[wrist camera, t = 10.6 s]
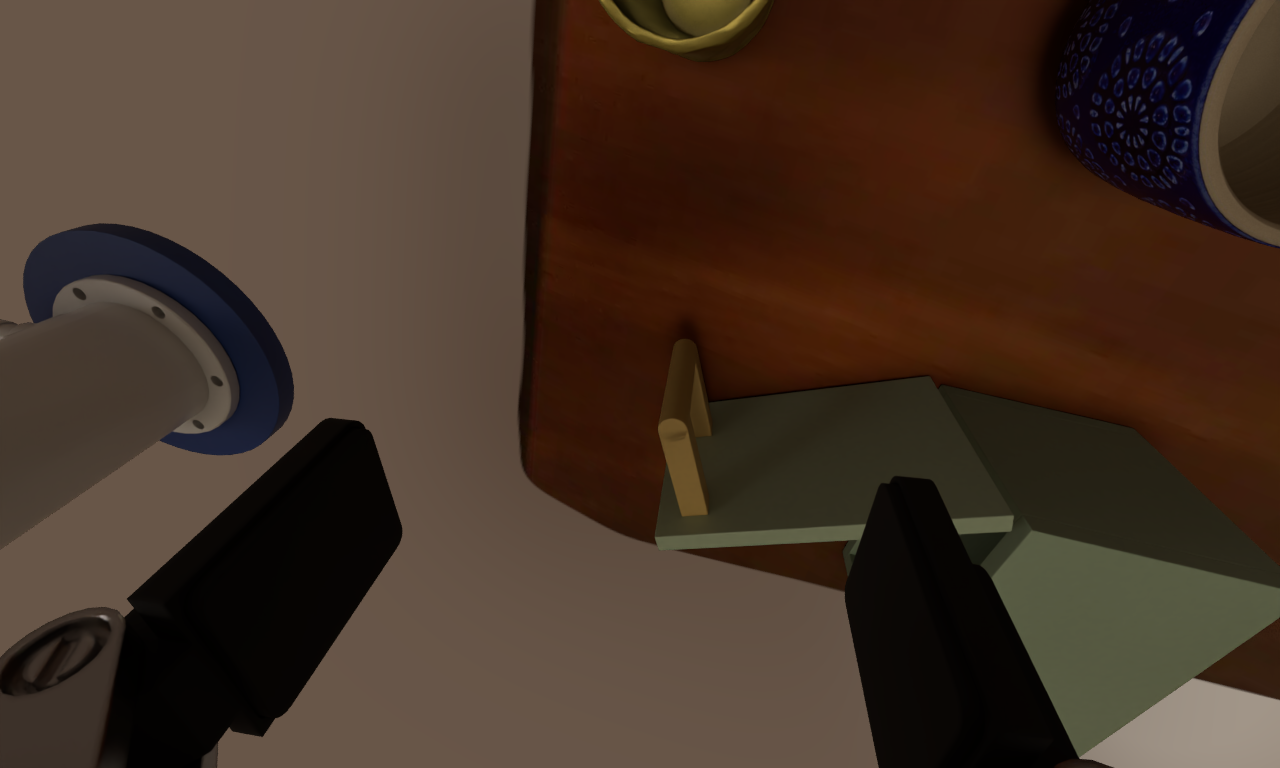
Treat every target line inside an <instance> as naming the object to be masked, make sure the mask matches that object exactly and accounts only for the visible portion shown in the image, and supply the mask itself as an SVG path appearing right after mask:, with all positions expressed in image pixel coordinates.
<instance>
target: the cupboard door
mask: <svg viewBox="0 0 1280 768" xmlns="http://www.w3.org/2000/svg"><path fill="white" fill-rule="evenodd" d="M658 432H659V436H660V440H661V443H662V447H663V451H664V454H665V458H666V461H667V462H666V469H665V475H664V481H663V488H662V494H661V501H660V507H659V513H658V520H657V526H656V532H655V540H656V543H657V546H658V549H659V550H676V549H695V548H714V547H732V546H751V545H770V544H788V543H807V542H826V541H844V540H861V537H862V534H863V531H864V528H865V525H866V522H867V519H868V516H869V513H870V510H871V508H872V505H873V502H874V499H875V496H876V493H877V490H878V487H879V485H880V484H881V483H888V484H889V483H890V481H891V479H892V478H893V477H894V476H904V477H914V478H923V479H930V480H932V481H933V482H934V483H935V485H936V487H937V489H938V491H939V493H940V495H941V497H942V499H943V502H944V504H945V506H946V508H947V510H948V512H949V515H950V517H951V519H952V521H953V523H954V525H955V528H956V530H957V532H958V534H975V533H994V532H1011V531H1012V526H1013V519H1014V515H1013V513H1012V512H1011V510H1010V508H1009V507H1008V505H1007V503H1006V502H1005V500H1004V498H1003V497H1002V495H1001V494H1000V492H999V490H998V489H997V487H996V485H995V484H994V482H993V480H992V479H991V477H990V475H989V474H988V472H987V470H986V469H985V467H984V465H983V464H982V462H981V460H980V459H979V457H978V455H977V454H976V452H975V450H974V449H973V447H972V445H971V444H970V442H969V440H968V439H967V437H966V435H965V434H964V432H963V430H962V429H961V427H960V425H959V424H958V422H957V420H956V419H955V417H954V416H953V414H952V412H951V411H950V409H949V407H948V406H947V404H946V402H945V401H944V399H943V397H942V396H941V394H940V392H939V391H938V389H937V387H936V386H935V384H934V382H933V381H932V379H931V377H930V376H926V377H917V378H909V379H901V380H892V381H884V382H876V383H868V384H859V385H851V386H843V387H834V388H826V389H818V390H810V391H801V392H793V393H785V394H777V395H768V396H760V397H752V398H743V399H735V400H727V401H719V402H710V403H708V398H707V393H706V389H705V384H704V379H703V375H702V370H701V365H700V360H699V356H698V351H697V346H696V344H695V343H694V342H693V341H691V340H689V339H681V340H679V341H677V342H676V343H675V345H674V347H673V352H672V358H671V363H670V368H669V373H668V378H667V383H666V389H665V394H664V399H663V404H662V409H661V415H660V420H659V425H658Z"/></svg>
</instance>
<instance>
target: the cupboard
mask: <svg viewBox="0 0 1280 768" xmlns="http://www.w3.org/2000/svg"><path fill="white" fill-rule="evenodd" d="M938 391H939V392H940V394H941V396H942V397H943V399H944V401H945V402H946V404H947V406H948V407H949V409H950V411H951V412H952V414H953V416H954V417H955V419H956V420H957V422H958V424H959V425H960V427H961V429H962V430H963V432H964V434H965V435H966V437H967V439H968V440H969V442H970V444H971V445H972V447H973V449H974V450H975V452H976V454H977V455H978V457H979V459H980V460H981V462H982V464H983V465H984V467H985V469H986V470H987V472H988V474H989V475H990V477H991V479H992V480H993V482H994V484H995V485H996V487H997V489H998V490H999V492H1000V494H1001V495H1002V497H1003V498H1004V500H1005V502H1006V503H1007V505H1008V507H1009V508H1010V510H1011V512H1012V513H1013V515H1014V519H1013V526H1012V531H1011V532H994V533H975V534H959V536H960V538H961V540H962V543H963V545H964V547H965V549H966V551H967V553H968V556H969V558H970V560H971V562H972V564H977V565H980V566H982V567H983V568H984V569H985V570H986V571H987V572H988V574H989V575H990V577H991V579H992V580H993V582H994V584H995V586H996V589H997V591H998V593H999V595H1000V597H1001V599H1002V601H1003V603H1004V605H1005V607H1006V609H1007V611H1008V613H1009V615H1010V617H1011V619H1012V621H1013V623H1014V625H1015V628H1016V630H1017V632H1018V634H1019V636H1020V638H1021V640H1022V642H1023V644H1024V646H1025V648H1026V650H1027V652H1028V654H1029V656H1030V658H1031V660H1032V662H1033V664H1034V667H1035V669H1036V671H1037V673H1038V675H1039V677H1040V679H1041V681H1042V683H1043V685H1044V687H1045V689H1046V691H1047V693H1048V695H1049V697H1050V699H1051V701H1052V703H1053V706H1054V708H1055V710H1056V712H1057V714H1058V716H1059V718H1060V720H1061V722H1062V724H1063V726H1064V728H1065V730H1066V732H1067V734H1068V736H1069V738H1070V740H1071V742H1072V744H1073V747H1074V749H1075V751H1076V753H1077V755H1078V757H1080V756H1082V755H1083V754H1085V753H1086V752H1087V751H1089V750H1090V749H1092V748H1093V747H1095V746H1096V745H1097V744H1099V743H1100V742H1102V741H1103V740H1105V739H1106V738H1107V737H1109V736H1110V735H1112V734H1113V733H1115V732H1116V731H1117V730H1119V729H1120V728H1122V727H1123V726H1125V725H1126V724H1128V723H1129V722H1130V721H1132V720H1133V719H1135V718H1136V717H1137V716H1139V715H1140V714H1142V713H1143V712H1145V711H1146V710H1148V709H1149V708H1150V707H1152V706H1153V705H1155V704H1156V703H1157V702H1159V701H1160V700H1162V699H1163V698H1165V697H1166V696H1168V695H1169V694H1171V693H1172V692H1173V691H1175V690H1176V689H1178V688H1179V687H1181V686H1182V685H1183V684H1185V683H1186V682H1188V681H1189V680H1191V679H1192V678H1193V677H1195V676H1196V675H1198V674H1199V673H1201V672H1202V671H1204V670H1205V669H1206V668H1208V667H1209V666H1211V665H1212V664H1214V663H1215V662H1216V661H1218V660H1219V659H1221V658H1222V657H1224V656H1225V655H1226V654H1228V653H1229V652H1231V651H1232V650H1234V649H1235V648H1236V647H1238V646H1239V645H1241V644H1242V643H1244V642H1245V641H1247V640H1248V639H1249V638H1251V637H1252V636H1254V635H1255V634H1257V633H1258V632H1259V631H1261V630H1262V629H1264V628H1265V627H1267V626H1268V625H1269V624H1271V623H1272V622H1274V621H1275V620H1277V619H1278V618H1279V617H1280V567H1279V566H1278V565H1277V564H1276V563H1275V562H1274V561H1273V560H1272V559H1271V558H1270V557H1269V556H1268V555H1267V554H1266V553H1265V552H1264V551H1263V550H1261V549H1260V548H1259V547H1258V546H1257V545H1256V544H1255V543H1254V542H1253V541H1252V540H1251V539H1250V538H1249V537H1248V536H1247V535H1246V534H1245V533H1244V532H1242V531H1241V530H1240V529H1239V528H1238V527H1237V526H1236V525H1235V524H1234V523H1233V522H1232V521H1231V520H1230V519H1229V518H1228V517H1227V516H1226V515H1225V514H1223V513H1222V512H1221V511H1220V510H1219V509H1218V508H1217V507H1216V506H1215V505H1214V504H1213V503H1212V502H1211V501H1210V500H1209V499H1208V498H1207V497H1206V496H1205V495H1203V494H1202V493H1201V492H1200V491H1199V490H1198V489H1197V488H1196V487H1195V486H1194V485H1193V484H1192V483H1191V482H1190V481H1189V480H1188V479H1187V478H1186V477H1184V476H1183V475H1182V474H1181V473H1180V472H1179V471H1178V470H1177V469H1176V468H1175V467H1174V466H1173V465H1172V464H1171V463H1170V462H1169V461H1168V460H1167V459H1165V458H1164V457H1163V456H1162V455H1161V454H1160V453H1159V452H1158V451H1157V450H1156V449H1155V448H1154V447H1153V446H1152V445H1151V444H1150V443H1149V442H1148V441H1146V440H1145V439H1144V438H1143V437H1142V436H1141V435H1140V434H1139V433H1138V432H1137V431H1136V430H1135V429H1133V428H1129V427H1125V426H1121V425H1116V424H1112V423H1108V422H1103V421H1099V420H1094V419H1090V418H1086V417H1081V416H1077V415H1073V414H1068V413H1064V412H1059V411H1055V410H1051V409H1046V408H1042V407H1038V406H1033V405H1029V404H1024V403H1020V402H1016V401H1011V400H1007V399H1003V398H998V397H994V396H990V395H985V394H981V393H976V392H972V391H968V390H963V389H959V388H955V387H950V386H946V385H941V386H940V387H939V389H938ZM859 543H860V540H849V541H848V543H847V544H846V546H845V548H844V550H843V556H844V560H845V565H846V570H847V574H848V576H849V573H850V570H851V567H852V564H853V561H854V558H855V555H856V552H857V549H858V546H859Z"/></svg>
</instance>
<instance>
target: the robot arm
mask: <svg viewBox="0 0 1280 768" xmlns="http://www.w3.org/2000/svg"><path fill="white" fill-rule="evenodd" d="M238 402H239V383H238V379H237V374H236V371H235V369H234V367H233V364H232V362H231V360H230V358H229V356H228V355H227V353H226V351H225V350H224V348H223V347H222V345H221V343H220V342H219V341H218V340H217V339H216V337H215V336H214V335H213V334H212V332H211V331H210V330H209V329H208V328H207V327H206V326H205V325H204V324H203V323H202V322H201V321H200V320H199V319H198V318H197V317H196V316H195V315H194V314H192V313H191V312H190V311H189V310H187V309H186V308H185V307H184V306H182V305H181V304H180V303H178V302H177V301H175V300H174V299H172V298H170V297H169V296H167V295H166V294H164V293H162V292H161V291H159V290H157V289H154V288H152V287H150V286H148V285H146V284H144V283H142V282H139V281H135V280H132V279H129V278H126V277H121V276H114V275H92V276H89V277H86V278H83V279H80V280H77V281H74V282H72V283H70V284H68V285H66V286H65V287H63V288H62V290H61V291H60V292H59V293H58V294H57V295H56V298H55V301H54V304H53V317H52V318H49V319H47V320H44V321H42V322H39V323H37V324H36V323H29V322H28V323H23V324H19V325H18V324H16V323H13V322H9V321H6V320H1V319H0V550H1V549H2V548H3V547H5V546H6V545H8V544H9V543H11V542H12V541H14V540H15V539H16V538H18V537H19V536H21V535H22V534H24V533H25V532H27V531H28V530H30V529H31V528H33V527H34V526H35V525H37V524H38V523H40V522H41V521H43V520H44V519H46V518H47V517H49V516H50V515H51V514H53V513H54V512H56V511H57V510H59V509H60V508H61V507H63V506H64V505H66V504H67V503H69V502H70V501H72V500H73V499H75V498H76V497H78V496H79V495H80V494H82V493H83V492H85V491H86V490H88V489H89V488H91V487H92V486H94V485H95V484H96V483H98V482H99V481H101V480H102V479H104V478H105V477H107V476H108V475H109V474H111V473H112V472H114V471H115V470H117V469H118V468H120V467H121V466H123V465H124V464H125V463H127V462H128V461H130V460H131V459H133V458H134V457H135V456H137V455H139V454H140V453H142V452H143V451H144V450H146V449H147V448H149V447H150V446H152V445H153V444H155V443H156V442H158V441H159V440H160V439H162V438H163V437H165V436H166V435H168V434H169V433H171V432H172V431H173V432H179V433H185V434H198V433H203V432H208V431H211V430H213V429H215V428H217V427H219V426H220V425H221V424H223V423H224V422H225V421H227V420H228V419H229V418H230V417H231V416H232V415H233V413H234V412H235V411H236V409H237V406H238ZM401 538H402V525H401V522H400V519H399V516H398V513H397V510H396V507H395V504H394V500H393V497H392V494H391V491H390V488H389V485H388V482H387V479H386V476H385V473H384V470H383V466H382V464H381V460H380V457H379V454H378V451H377V448H376V445H375V442H374V439H373V436H372V434H371V432H370V431H369V430H366V429H365V427H364V425H363V424H362V423H361V422H359V421H355V420H345V419H336V418H328V419H325V420H323V421H322V422H320V423H319V424H318V425H317V426H316V427H315V428H314V429H313V430H312V431H310V432H309V433H308V434H307V435H306V436H305V437H304V438H303V439H302V440H300V441H299V443H297V444H296V445H295V446H294V447H293V448H292V449H291V450H290V451H289V452H287V453H286V454H285V455H284V456H283V457H282V458H281V459H280V460H279V461H278V462H276V463H275V464H274V465H273V466H272V467H271V468H270V469H269V470H268V471H267V472H265V473H264V474H263V475H262V476H261V477H260V478H259V479H258V480H257V481H256V482H254V484H252V485H251V486H250V487H249V488H248V489H247V490H246V491H245V492H243V493H242V494H241V495H240V496H239V497H238V498H237V499H236V500H235V501H234V502H233V503H231V504H230V505H229V506H228V507H227V508H226V509H225V510H224V511H223V512H222V513H220V514H219V515H218V516H217V517H216V518H215V519H214V520H213V521H212V522H211V523H209V524H208V525H207V526H206V527H205V528H204V529H203V530H202V531H201V532H200V533H199V534H197V536H195V537H194V538H193V539H192V540H191V541H190V542H189V543H188V544H186V546H185V547H183V548H182V549H181V550H180V551H179V552H178V553H177V554H175V555H174V556H173V557H172V558H171V559H170V560H169V561H168V562H167V563H166V564H165V565H163V566H162V567H161V568H160V569H159V570H158V571H157V572H156V573H155V574H154V575H152V576H151V577H150V578H149V579H148V580H147V581H146V582H145V583H144V584H143V585H142V586H140V587H139V588H138V589H137V590H136V591H135V592H134V593H133V594H132V595H131V596H129V597H128V598H127V600H128V601H129V602H130V604H131V605H132V606H133V607H134V609H133V610H132V611H131V612H130V613H129V614H128V615H127V616H125V617H123V616H122V615H121V614H120V613H119V612H118V611H117V610H115V609H111V608H107V607H98V608H87V609H84V610H80V611H76V612H73V613H69V614H67V615H64V616H62V617H60V618H57V619H55V620H53V621H50V622H48V623H46V624H45V625H43V626H41V627H40V628H38V629H37V630H34V631H33V632H31V633H29V634H28V635H26V636H25V637H24V638H22V639H21V640H20V641H18V642H17V643H16V644H15V645H13V646H12V647H11V648H9V649H8V650H7V651H6V652H5V653H4V654H3V655H2V656H1V657H0V768H217V756H218V741H219V740H220V738H221V737H222V736H223V735H224V733H225V732H226V730H227V729H228V728H229V727H230V729H231V730H232V731H233V732H239V733H244V734H250V735H255V736H261V737H263V736H264V734H265V733H266V731H267V730H268V728H269V727H270V725H271V724H272V722H273V721H274V719H275V718H278V717H280V716H282V715H283V714H284V713H286V712H287V711H288V709H289V708H290V707H291V705H292V704H293V702H294V701H295V699H296V698H297V696H298V695H299V693H300V692H301V690H302V689H303V688H304V686H305V685H306V683H307V681H308V680H309V679H310V677H311V676H312V674H313V673H314V671H315V670H316V668H317V667H318V665H319V664H320V662H321V661H322V659H323V658H324V656H325V655H326V653H327V651H328V650H329V648H330V647H331V646H332V644H333V643H334V641H335V640H336V638H337V637H338V635H339V634H340V632H341V630H342V629H343V628H344V626H345V625H346V623H347V622H348V620H349V619H350V617H351V616H352V614H353V613H354V611H355V610H356V608H357V607H358V605H359V604H360V602H361V601H362V599H363V597H364V596H365V595H366V593H367V592H368V590H369V589H370V587H371V586H372V584H373V583H374V581H375V580H376V578H377V577H378V575H379V574H380V572H381V571H382V569H383V568H384V566H385V565H386V563H387V562H388V560H389V559H390V557H391V556H392V555H393V553H394V552H395V550H396V549H397V547H398V545H399V543H400V541H401ZM845 603H846V609H847V613H848V618H849V623H850V628H851V633H852V638H853V643H854V648H855V653H856V658H857V662H858V668H859V673H860V677H861V682H862V687H863V692H864V697H865V701H866V707H867V712H868V717H869V722H870V727H871V732H872V736H873V742H874V746H875V751H876V756H877V761H878V765H879V768H1113V767H1110V766H1107V765H1105V764H1102V763H1099V762H1096V761H1093V760H1086V759H1079V757H1078V755H1077V753H1076V751H1075V749H1074V747H1073V744H1072V742H1071V740H1070V738H1069V736H1068V734H1067V732H1066V730H1065V728H1064V726H1063V724H1062V722H1061V720H1060V718H1059V716H1058V714H1057V712H1056V710H1055V708H1054V706H1053V703H1052V701H1051V699H1050V697H1049V695H1048V693H1047V691H1046V689H1045V687H1044V685H1043V683H1042V681H1041V679H1040V677H1039V675H1038V673H1037V671H1036V669H1035V667H1034V664H1033V662H1032V660H1031V658H1030V656H1029V654H1028V652H1027V650H1026V648H1025V646H1024V644H1023V642H1022V640H1021V638H1020V636H1019V634H1018V632H1017V630H1016V628H1015V625H1014V623H1013V621H1012V619H1011V617H1010V615H1009V613H1008V611H1007V609H1006V607H1005V605H1004V603H1003V601H1002V599H1001V597H1000V595H999V593H998V591H997V589H996V586H995V584H994V582H993V580H992V579H991V577H990V575H989V574H988V572H987V571H986V570H985V569H984V568H983V567H982V566H980V565H977V564H972V562H971V560H970V558H969V556H968V553H967V551H966V549H965V547H964V545H963V543H962V540H961V538H960V536H959V534H958V532H957V530H956V528H955V525H954V523H953V521H952V519H951V517H950V515H949V512H948V510H947V508H946V506H945V504H944V502H943V499H942V497H941V495H940V493H939V491H938V489H937V487H936V485H935V483H934V482H933V481H932V480H930V479H923V478H914V477H904V476H894V477H893V478H892V479H891V481H890V483H889V484H888V483H881V484H880V485H879V487H878V490H877V493H876V496H875V499H874V502H873V505H872V508H871V510H870V513H869V516H868V519H867V522H866V525H865V528H864V531H863V534H862V537H861V540H860V543H859V546H858V549H857V552H856V555H855V558H854V561H853V564H852V567H851V570H850V573H849V576H848V579H847V582H846V586H845Z"/></svg>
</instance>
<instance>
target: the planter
mask: <svg viewBox="0 0 1280 768" xmlns="http://www.w3.org/2000/svg"><path fill="white" fill-rule="evenodd" d="M1055 106H1056V116H1057V121H1058V125H1059V129H1060V132H1061V135H1062V137H1063V139H1064V141H1065V143H1066V145H1067V146H1068V148H1069V149H1070V151H1071V152H1072V154H1073V155H1074V156H1075V157H1076V158H1077V159H1078V160H1079V161H1080V162H1081V164H1082V165H1083V166H1084V167H1085V168H1087V169H1088V170H1089V171H1090V172H1092V173H1093V174H1094V175H1096V176H1097V177H1099V178H1101V179H1102V180H1104V181H1106V182H1107V183H1109V184H1111V185H1112V186H1114V187H1116V188H1118V189H1120V190H1122V191H1124V192H1126V193H1128V194H1130V195H1132V196H1134V197H1136V198H1138V199H1140V200H1143V201H1145V202H1148V203H1150V204H1152V205H1155V206H1157V207H1160V208H1162V209H1164V210H1167V211H1169V212H1172V213H1174V214H1176V215H1179V216H1181V217H1184V218H1187V219H1189V220H1192V221H1195V222H1198V223H1200V224H1203V225H1206V226H1209V227H1212V228H1214V229H1217V230H1220V231H1223V232H1225V233H1228V234H1231V235H1234V236H1237V237H1240V238H1243V239H1247V240H1250V241H1253V242H1257V243H1260V244H1264V245H1267V246H1271V247H1275V248H1280V0H1090V2H1089V3H1088V4H1087V6H1086V7H1085V9H1084V11H1083V12H1082V14H1081V16H1080V17H1079V19H1078V21H1077V23H1076V24H1075V26H1074V28H1073V30H1072V32H1071V34H1070V37H1069V39H1068V41H1067V44H1066V46H1065V49H1064V52H1063V55H1062V58H1061V61H1060V65H1059V69H1058V74H1057V80H1056V90H1055Z"/></svg>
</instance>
